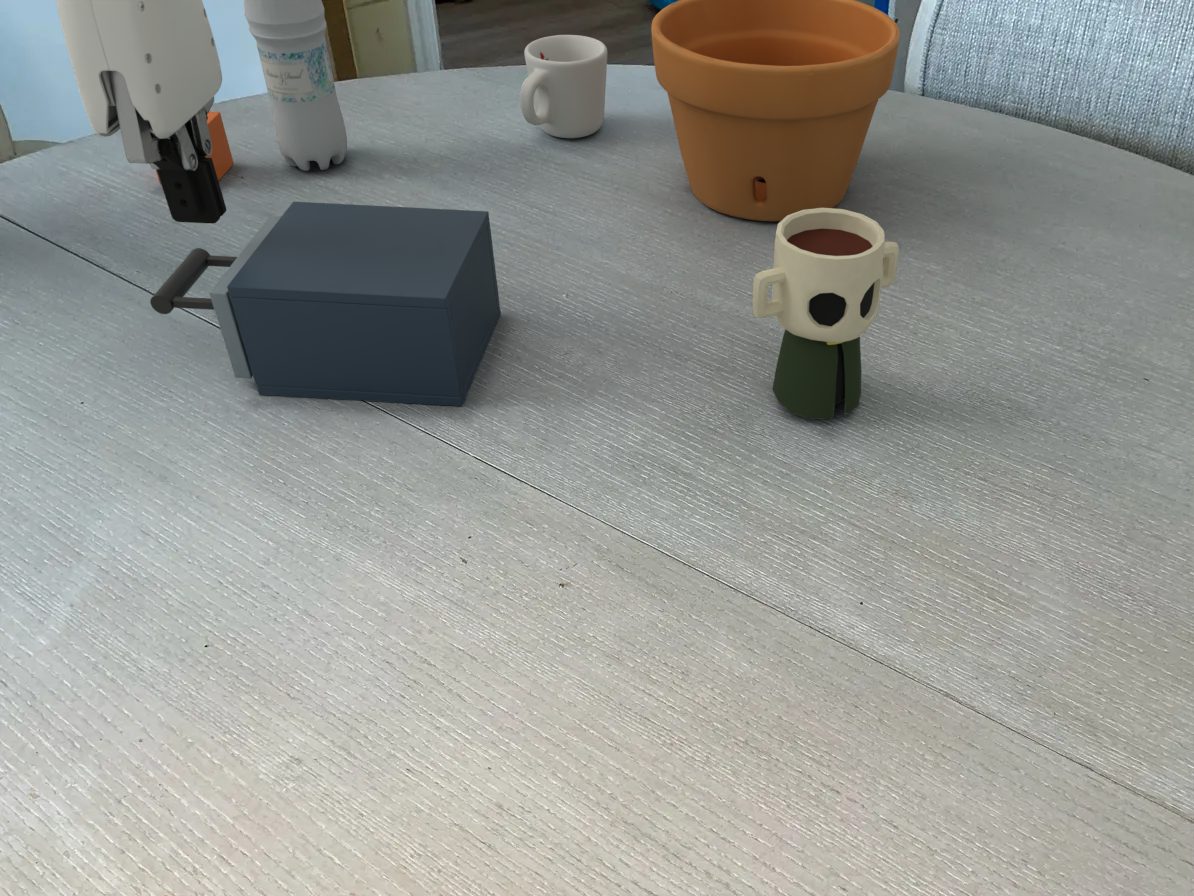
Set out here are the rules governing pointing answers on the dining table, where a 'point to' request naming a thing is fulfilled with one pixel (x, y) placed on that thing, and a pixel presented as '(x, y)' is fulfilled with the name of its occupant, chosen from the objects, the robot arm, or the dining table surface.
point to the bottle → (299, 80)
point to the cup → (565, 85)
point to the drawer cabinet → (369, 303)
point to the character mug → (823, 304)
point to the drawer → (213, 294)
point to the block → (218, 145)
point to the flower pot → (772, 97)
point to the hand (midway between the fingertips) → (200, 217)
